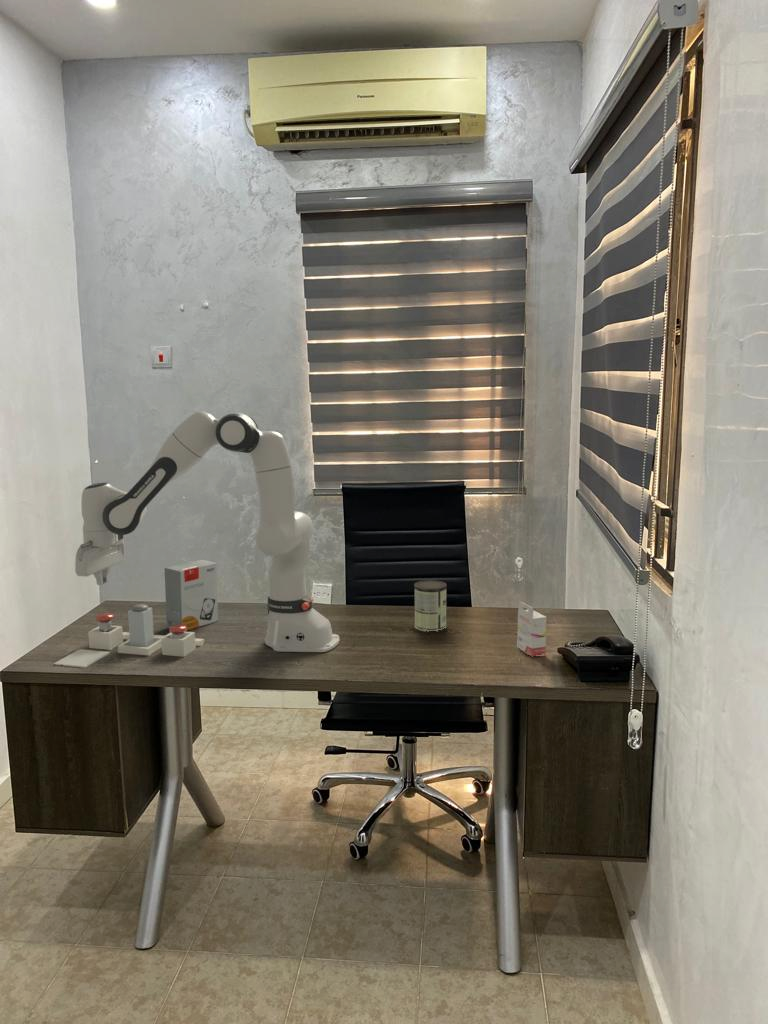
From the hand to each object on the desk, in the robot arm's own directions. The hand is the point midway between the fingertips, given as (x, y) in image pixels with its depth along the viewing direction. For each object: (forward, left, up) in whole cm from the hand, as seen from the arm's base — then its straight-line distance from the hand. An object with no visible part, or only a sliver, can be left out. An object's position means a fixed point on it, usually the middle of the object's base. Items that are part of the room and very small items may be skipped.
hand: (102, 583), depth 238 cm
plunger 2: (-24, 0, -18) cm, 30 cm away
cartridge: (-12, 0, -19) cm, 23 cm away
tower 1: (0, 0, -19) cm, 19 cm away
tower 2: (-24, 0, -19) cm, 31 cm away
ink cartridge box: (-124, -24, -19) cm, 128 cm away
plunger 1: (0, 0, -17) cm, 17 cm away
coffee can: (-91, -40, -19) cm, 101 cm away
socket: (-12, -2, -19) cm, 23 cm away
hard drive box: (-16, -24, -19) cm, 35 cm away
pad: (0, +12, -19) cm, 22 cm away
